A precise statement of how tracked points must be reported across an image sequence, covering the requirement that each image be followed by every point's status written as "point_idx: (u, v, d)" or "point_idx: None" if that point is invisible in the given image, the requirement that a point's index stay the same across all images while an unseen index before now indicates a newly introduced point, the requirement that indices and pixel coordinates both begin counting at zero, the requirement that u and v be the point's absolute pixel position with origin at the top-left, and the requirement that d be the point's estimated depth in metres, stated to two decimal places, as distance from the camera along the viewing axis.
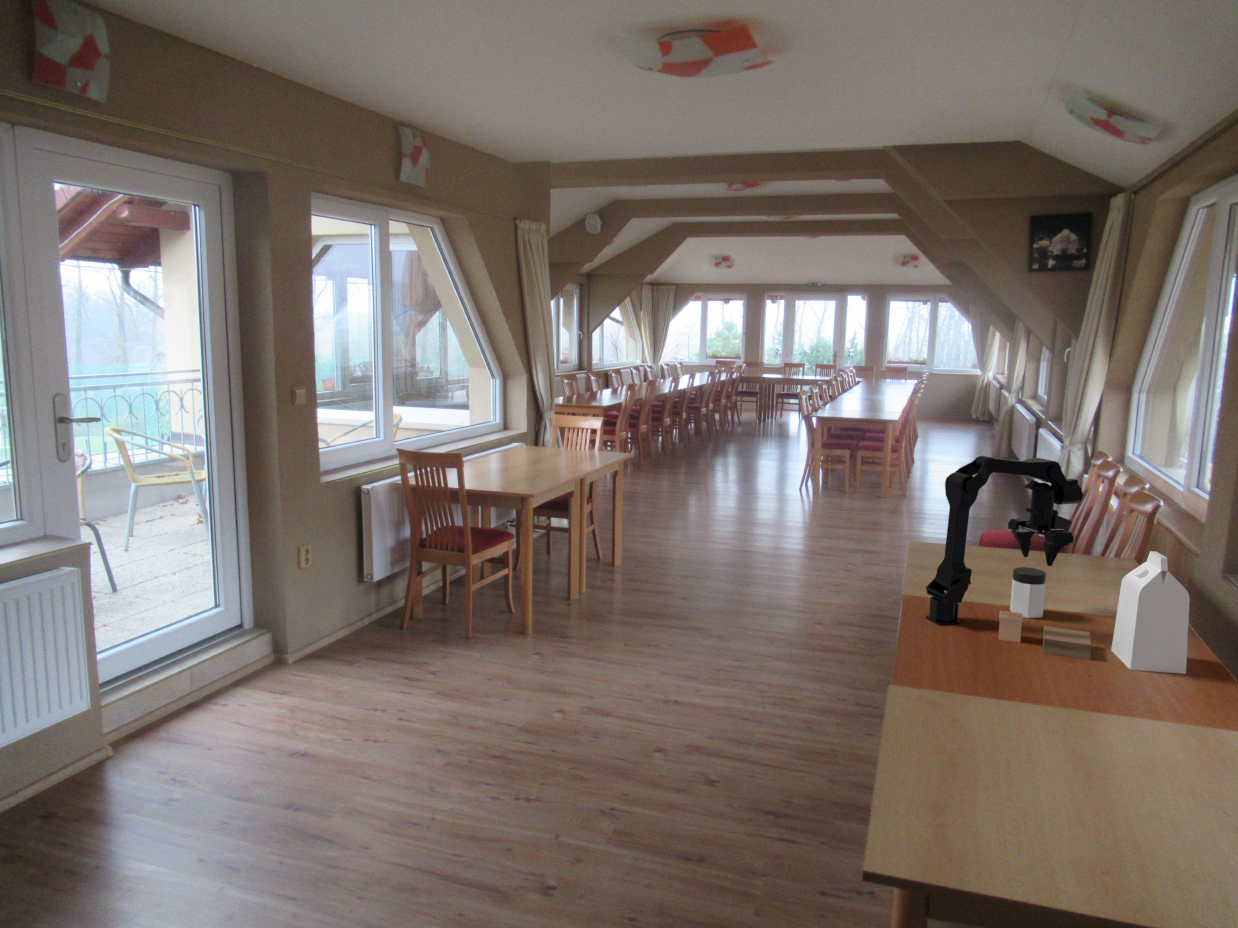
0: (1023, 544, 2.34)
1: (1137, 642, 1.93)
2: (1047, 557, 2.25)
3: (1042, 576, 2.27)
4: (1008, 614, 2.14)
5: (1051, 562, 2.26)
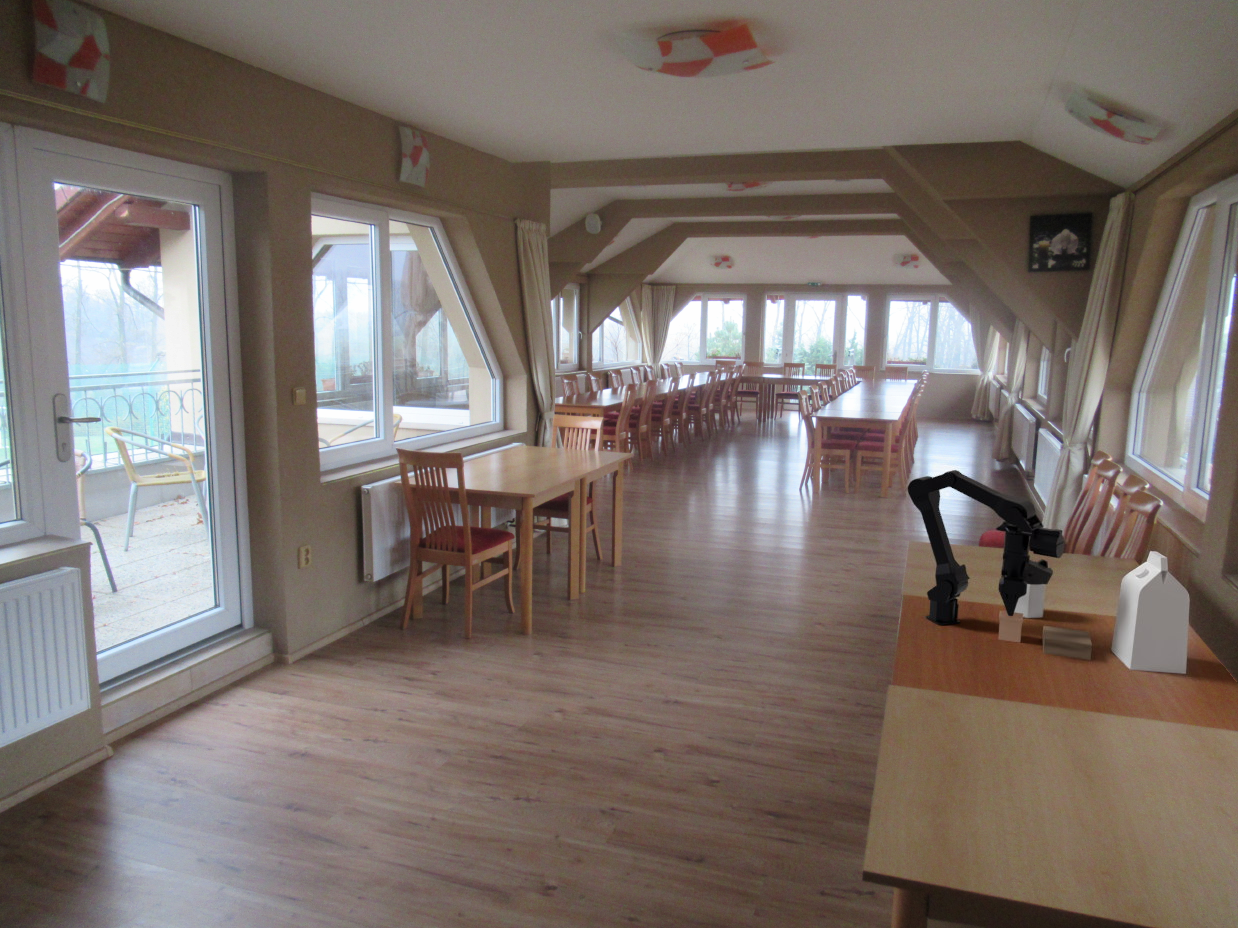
0: None
1: (1137, 642, 1.93)
2: None
3: None
4: None
5: (1011, 612, 2.09)
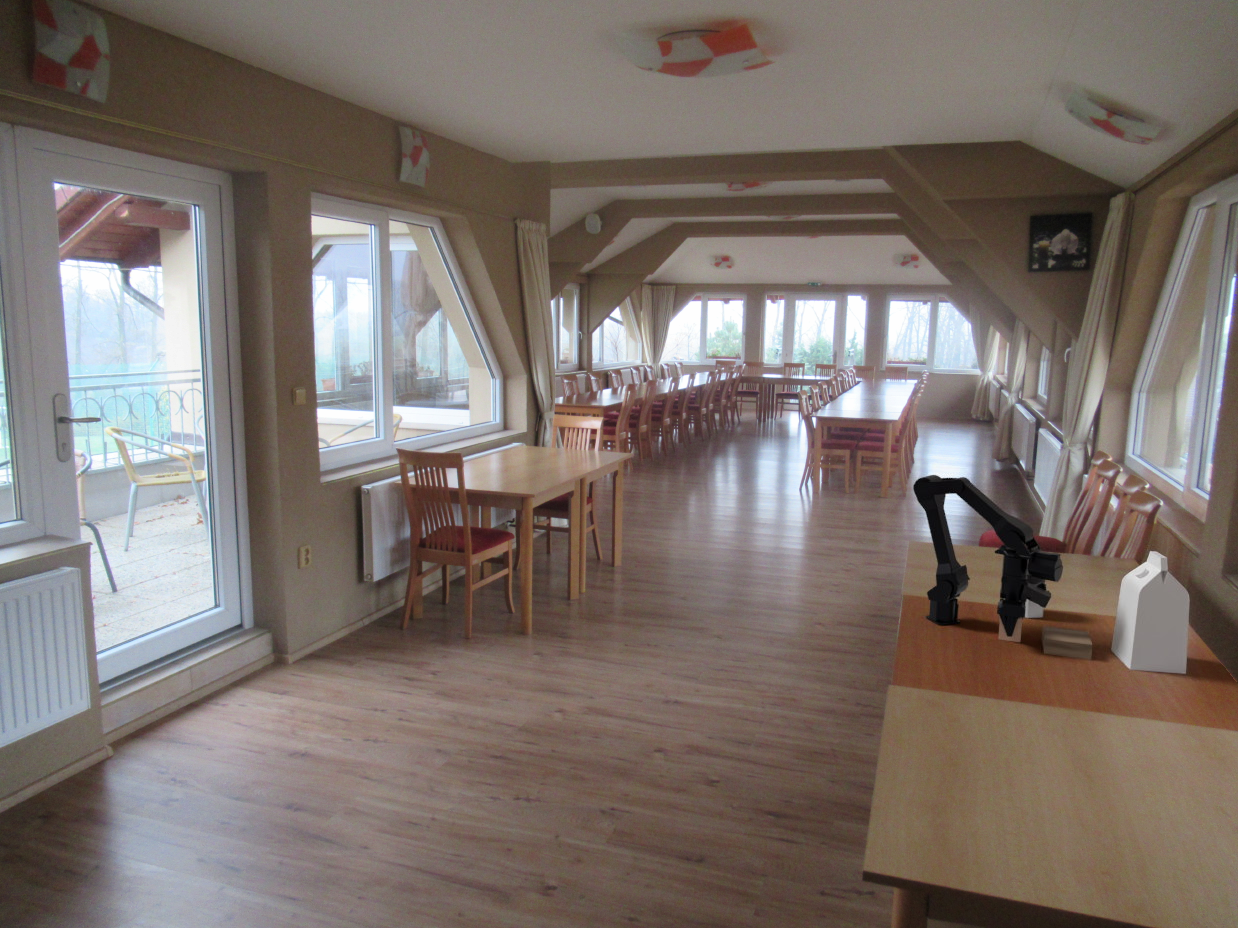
0: None
1: (1137, 642, 1.93)
2: None
3: None
4: None
5: (1010, 632, 2.11)
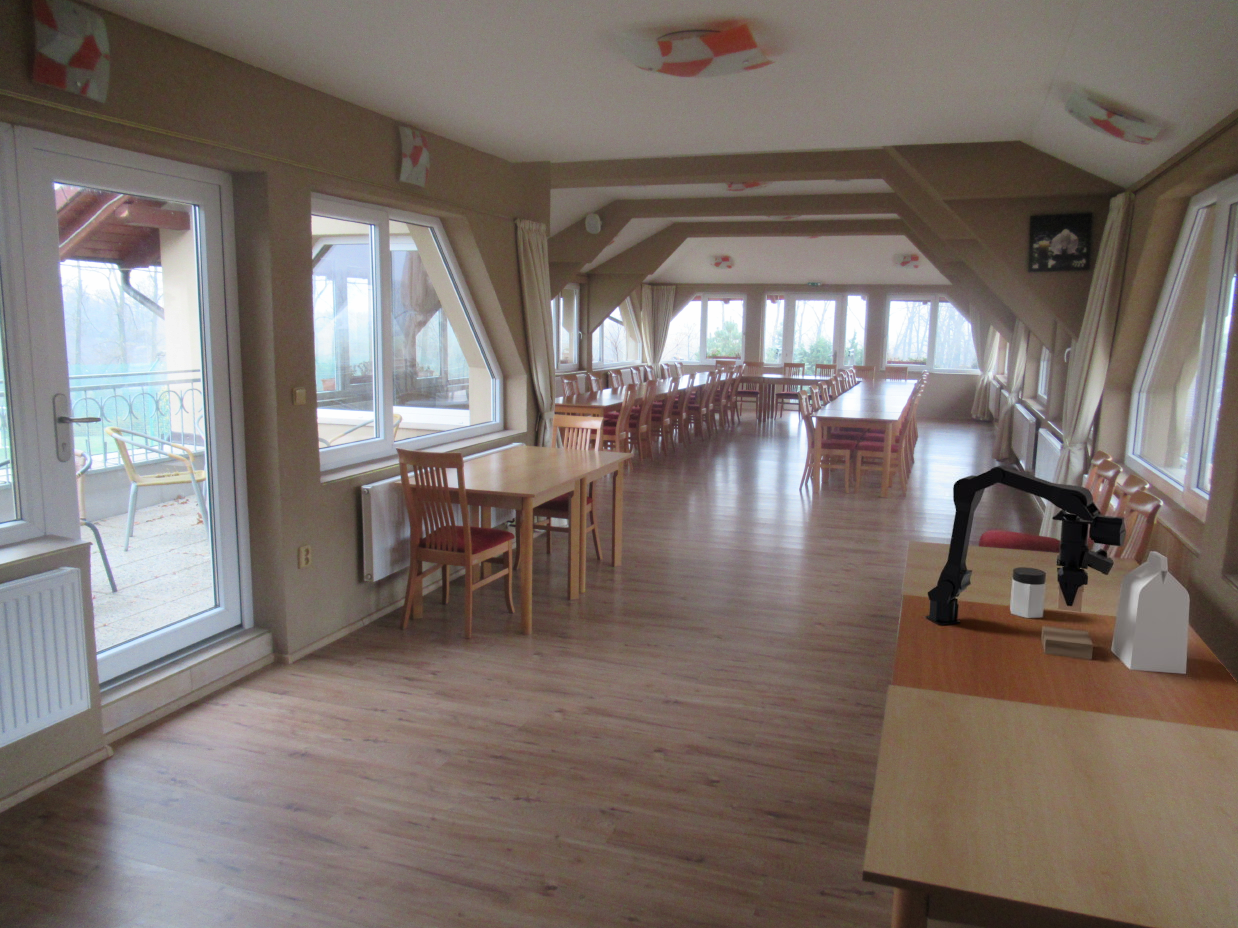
0: None
1: (1137, 642, 1.93)
2: None
3: (1042, 576, 2.27)
4: None
5: (1070, 602, 2.02)
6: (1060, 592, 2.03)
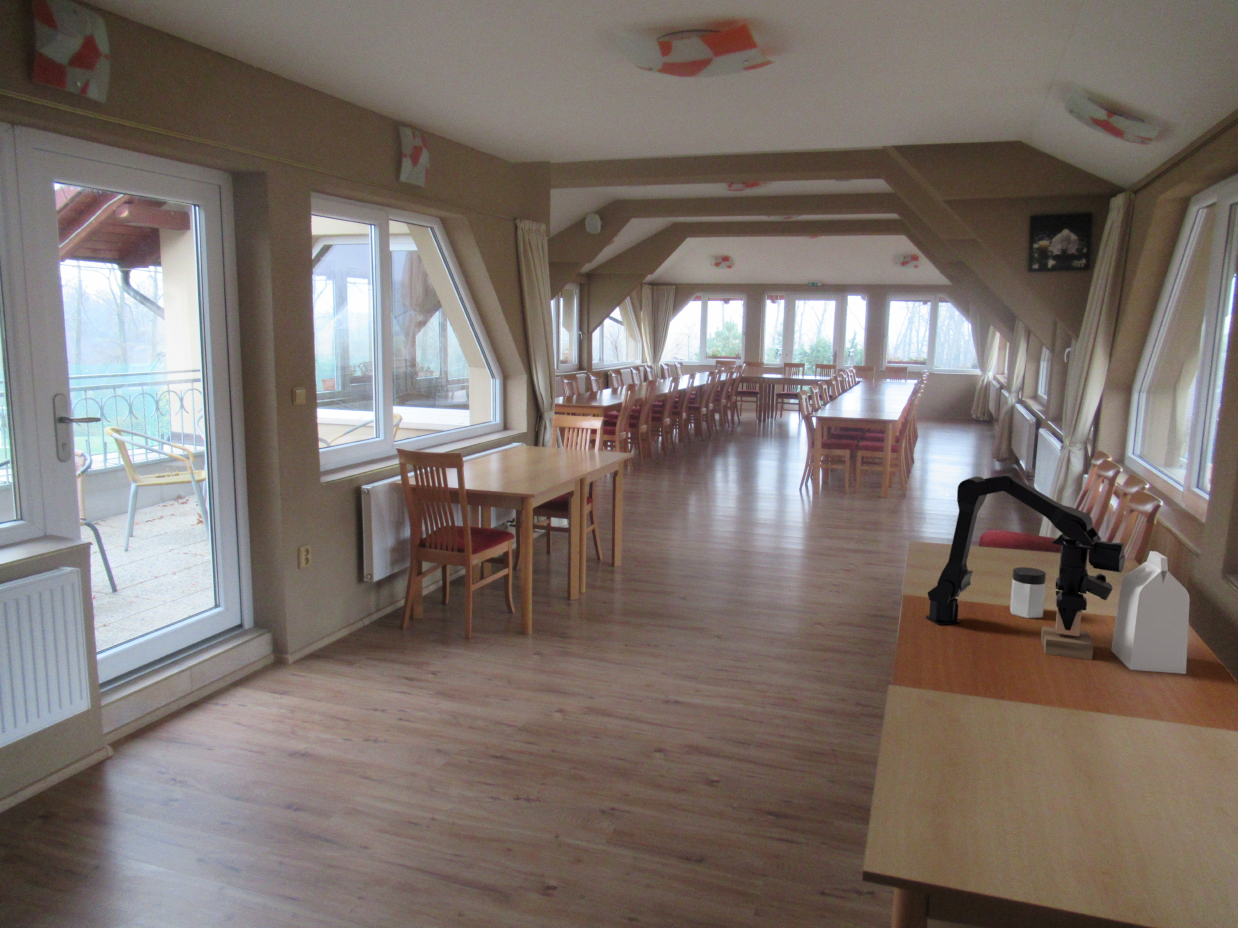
0: None
1: (1137, 642, 1.93)
2: None
3: (1042, 576, 2.27)
4: None
5: (1068, 626, 2.03)
6: (1059, 616, 2.04)
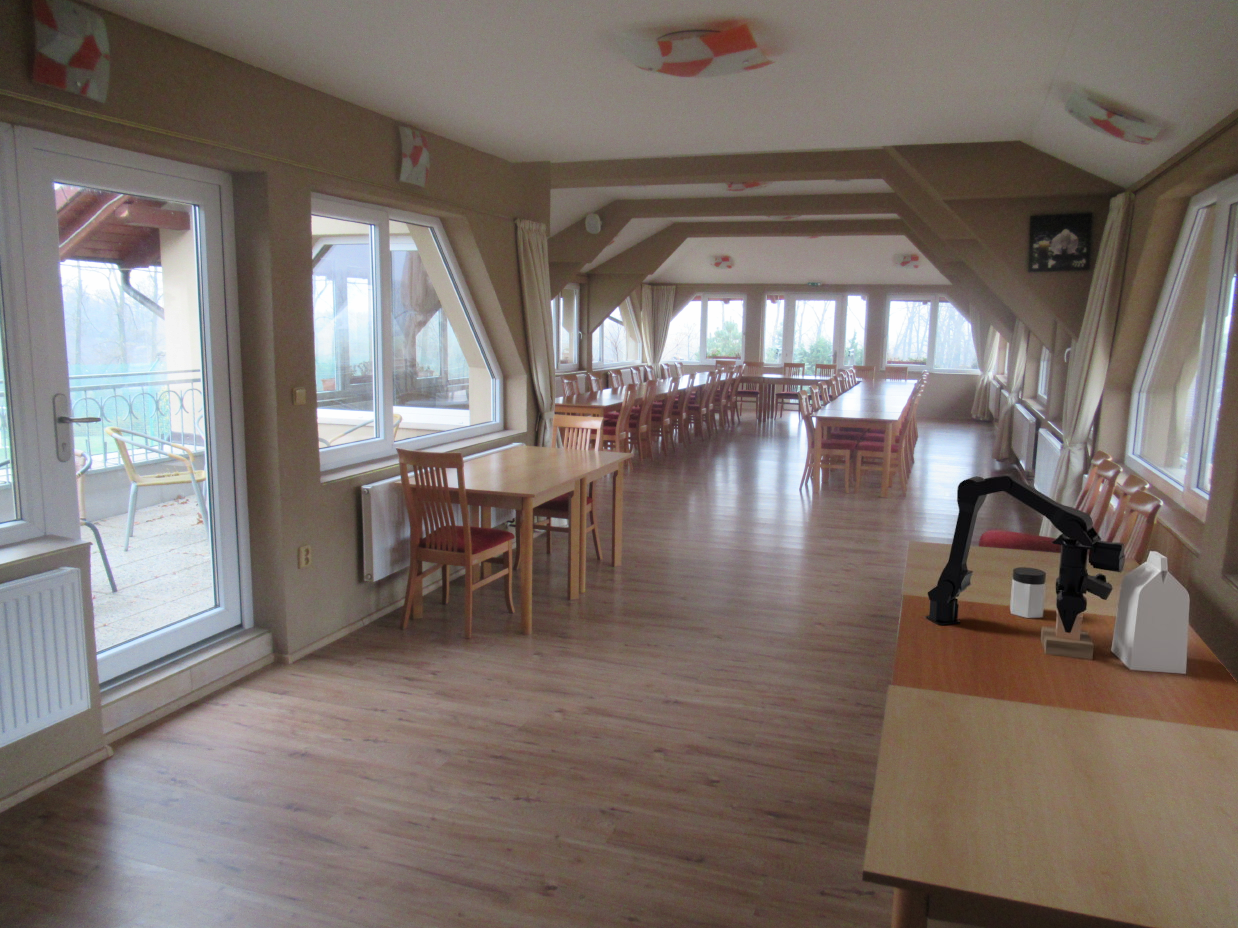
0: None
1: (1137, 642, 1.93)
2: (1062, 621, 2.01)
3: (1042, 576, 2.27)
4: None
5: (1068, 628, 2.01)
6: (1059, 620, 2.04)
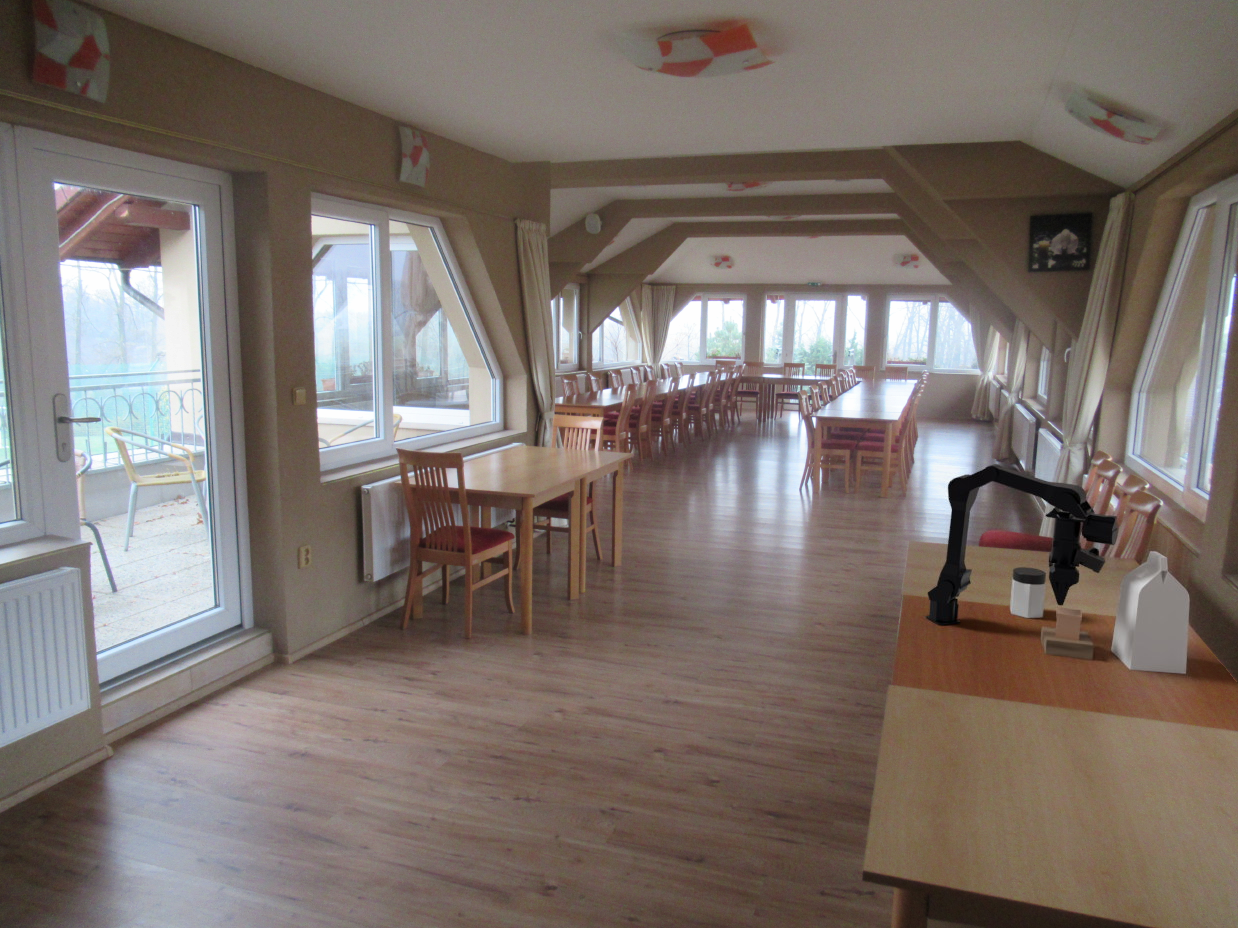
0: None
1: (1137, 642, 1.93)
2: (1054, 594, 2.02)
3: (1042, 576, 2.27)
4: (1066, 611, 2.06)
5: (1061, 601, 2.01)
6: (1058, 620, 2.04)
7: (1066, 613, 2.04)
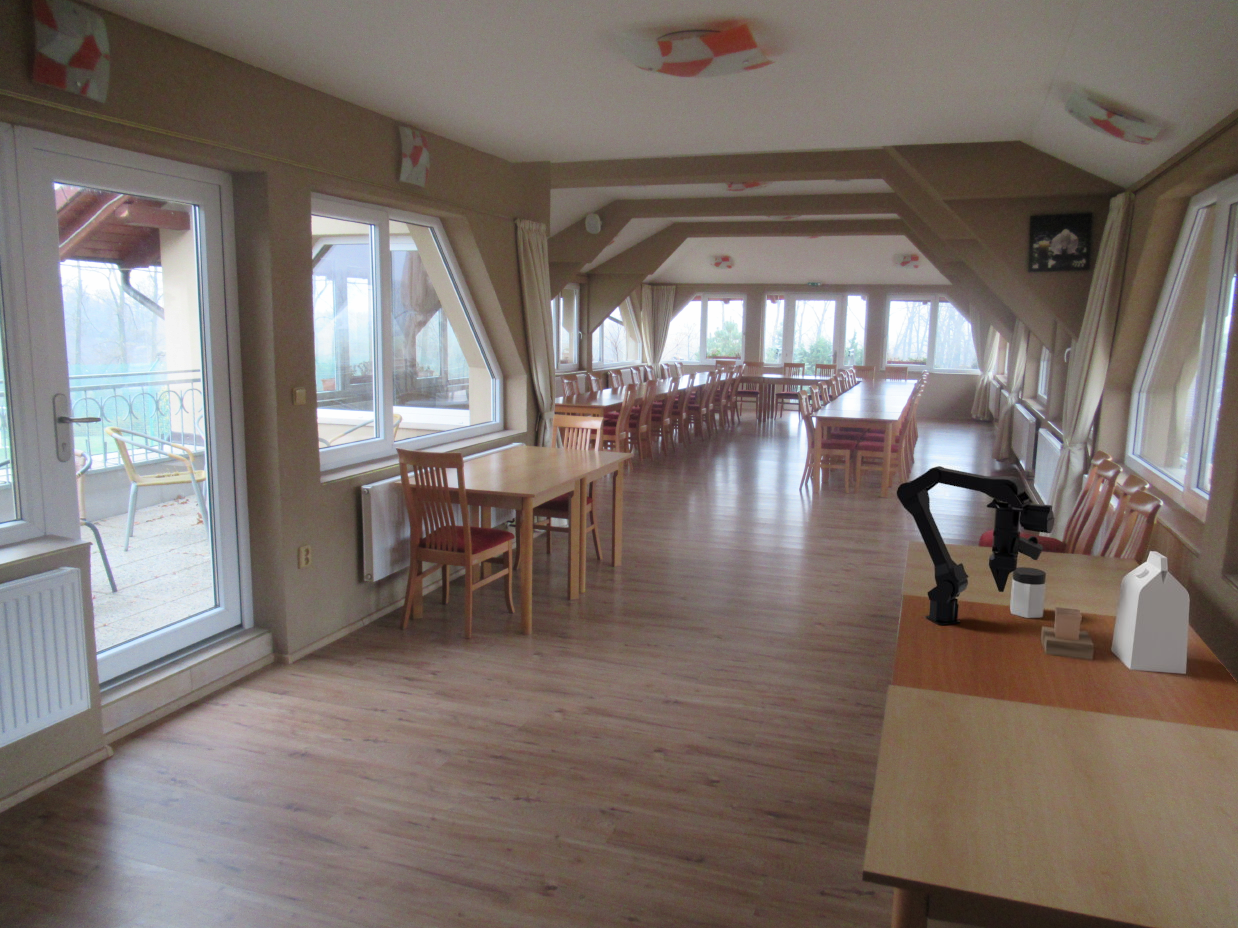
0: None
1: (1137, 642, 1.93)
2: (995, 581, 2.11)
3: (1042, 576, 2.27)
4: (1065, 611, 2.05)
5: (1001, 588, 2.10)
6: (1058, 620, 2.04)
7: (1066, 613, 2.04)
